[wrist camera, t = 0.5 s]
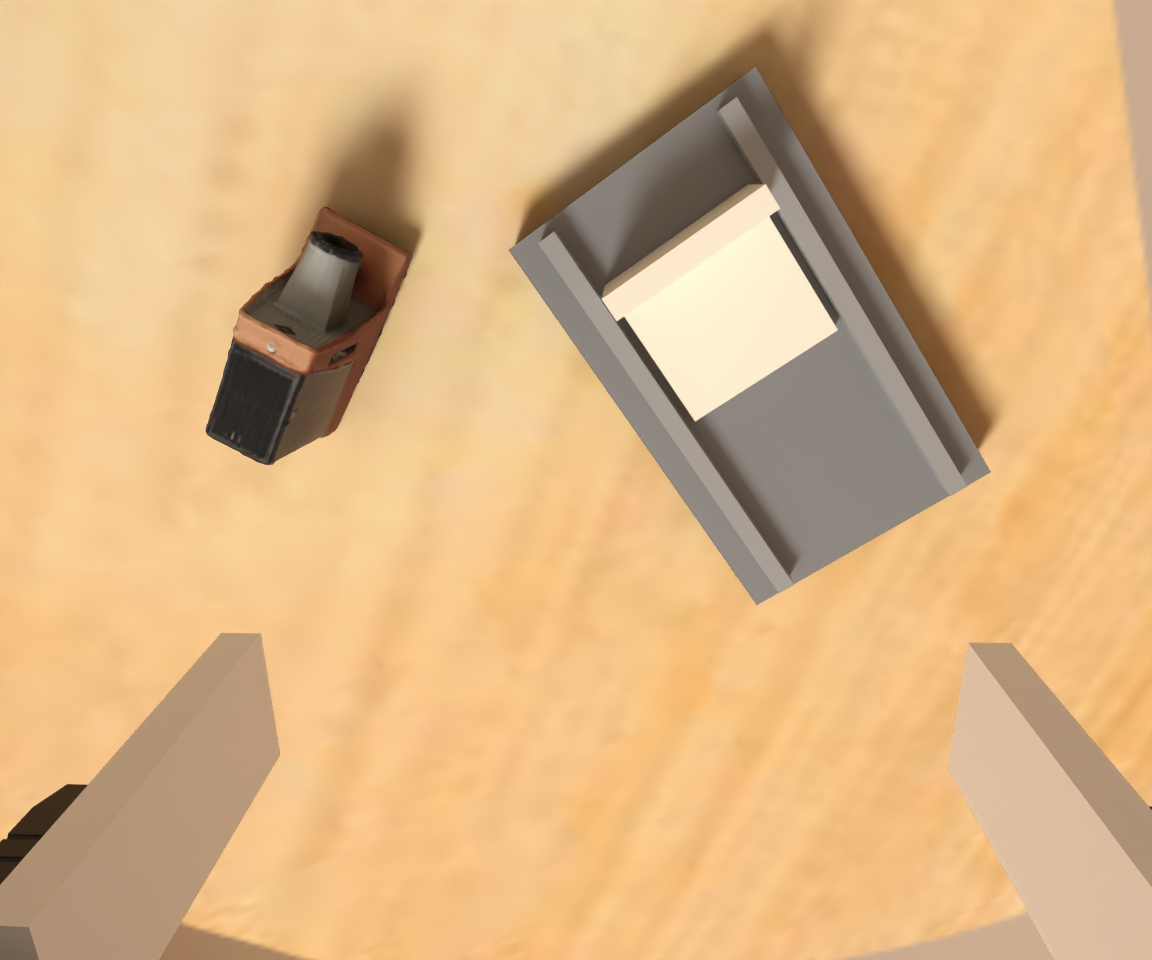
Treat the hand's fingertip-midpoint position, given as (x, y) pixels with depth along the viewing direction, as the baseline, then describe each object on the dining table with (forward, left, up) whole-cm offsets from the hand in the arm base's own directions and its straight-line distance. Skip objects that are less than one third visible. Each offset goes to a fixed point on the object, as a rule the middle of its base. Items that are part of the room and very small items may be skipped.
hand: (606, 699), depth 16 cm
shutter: (-1, +6, -23) cm, 23 cm away
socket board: (+2, +6, -25) cm, 25 cm away
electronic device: (-10, -9, -25) cm, 29 cm away
